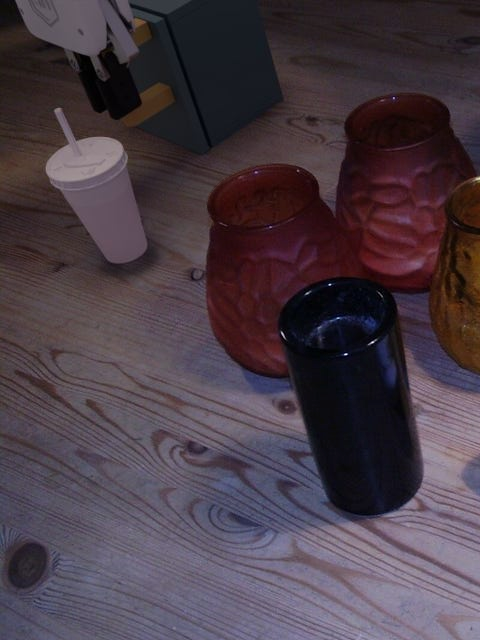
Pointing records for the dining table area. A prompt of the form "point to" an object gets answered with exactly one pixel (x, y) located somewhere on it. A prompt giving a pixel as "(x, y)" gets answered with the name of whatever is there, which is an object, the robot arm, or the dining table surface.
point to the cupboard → (221, 60)
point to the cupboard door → (162, 87)
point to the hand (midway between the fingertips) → (118, 107)
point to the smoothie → (99, 192)
